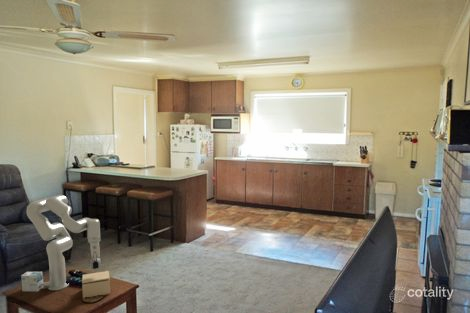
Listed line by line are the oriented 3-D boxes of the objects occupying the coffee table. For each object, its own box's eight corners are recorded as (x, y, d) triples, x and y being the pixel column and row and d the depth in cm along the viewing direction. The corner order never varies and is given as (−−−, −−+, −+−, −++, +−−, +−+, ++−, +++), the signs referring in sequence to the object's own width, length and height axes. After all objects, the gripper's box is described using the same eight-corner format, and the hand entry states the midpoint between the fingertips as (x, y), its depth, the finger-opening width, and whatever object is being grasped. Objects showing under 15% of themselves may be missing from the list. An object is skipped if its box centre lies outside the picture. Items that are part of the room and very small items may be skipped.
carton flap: (82, 283, 221) (82, 282, 221) (82, 275, 234) (82, 274, 234) (109, 279, 227) (109, 277, 227) (108, 271, 240) (108, 270, 240)
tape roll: (90, 269, 226) (90, 261, 226) (90, 266, 232) (90, 258, 231) (100, 268, 228) (100, 260, 228) (100, 264, 234) (100, 257, 233)
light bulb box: (43, 287, 239) (42, 271, 238) (37, 291, 232) (36, 275, 231) (28, 286, 240) (27, 271, 239) (21, 291, 233) (20, 275, 232)
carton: (82, 298, 222) (82, 284, 221) (83, 289, 235) (82, 275, 234) (110, 293, 228) (109, 280, 227) (109, 284, 241) (108, 271, 240)
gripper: (100, 242, 222) (102, 270, 223) (100, 234, 238) (101, 260, 239) (87, 243, 219) (89, 272, 221) (87, 235, 235) (89, 262, 237)
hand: (95, 266), depth 230 cm, fingers closed on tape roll, 6 cm apart
